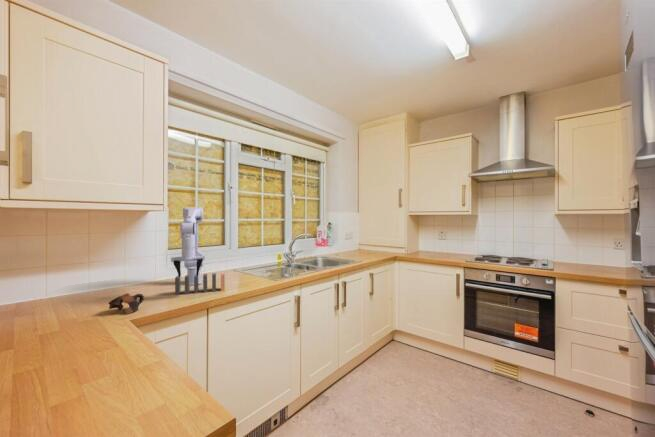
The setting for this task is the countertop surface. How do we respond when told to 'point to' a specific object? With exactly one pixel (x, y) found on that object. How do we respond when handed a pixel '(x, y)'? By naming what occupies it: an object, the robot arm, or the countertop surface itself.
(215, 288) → the domino
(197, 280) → the domino
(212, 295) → the countertop surface
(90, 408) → the countertop surface
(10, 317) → the countertop surface
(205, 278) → the domino
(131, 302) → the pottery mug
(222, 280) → the domino
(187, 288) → the domino
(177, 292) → the domino
